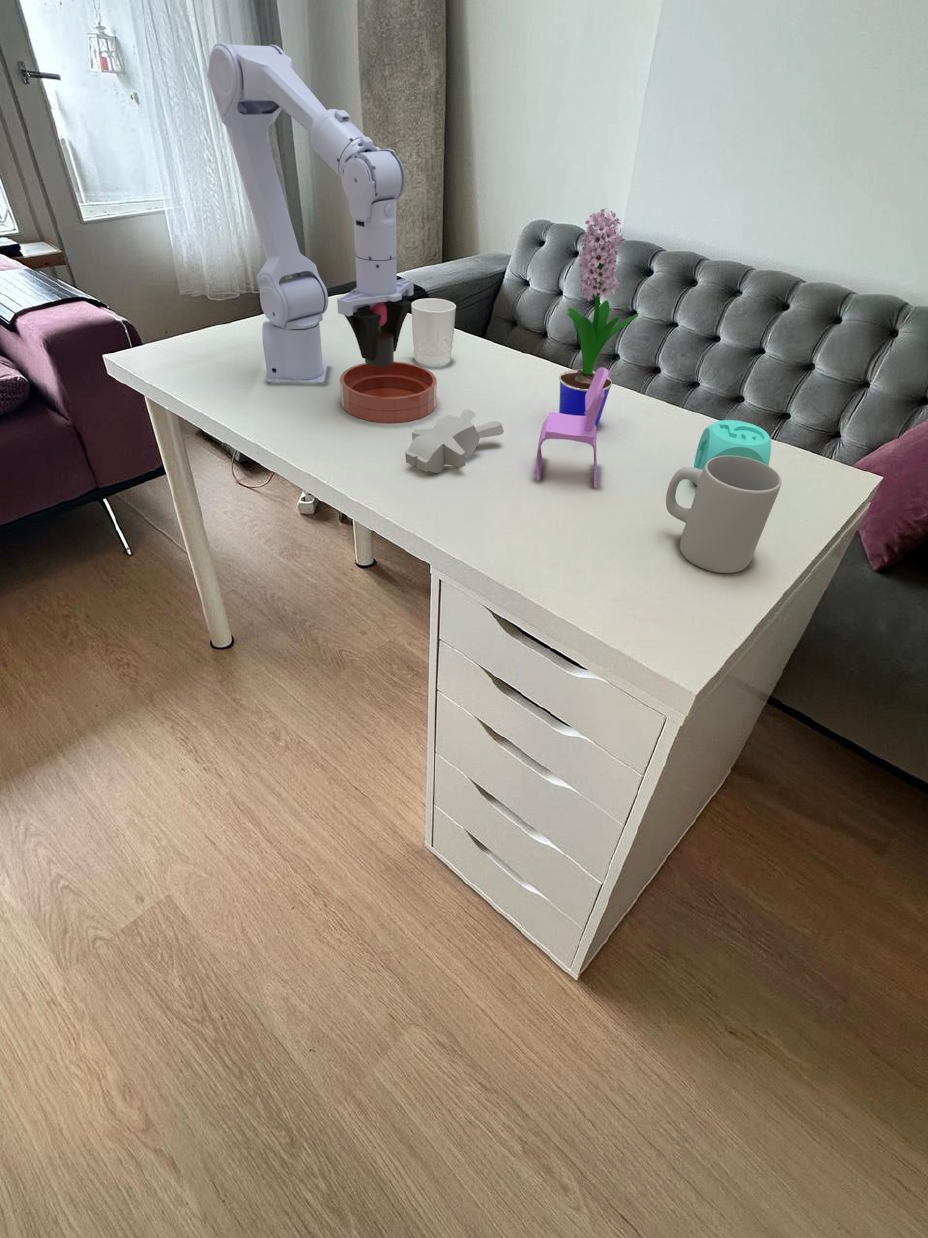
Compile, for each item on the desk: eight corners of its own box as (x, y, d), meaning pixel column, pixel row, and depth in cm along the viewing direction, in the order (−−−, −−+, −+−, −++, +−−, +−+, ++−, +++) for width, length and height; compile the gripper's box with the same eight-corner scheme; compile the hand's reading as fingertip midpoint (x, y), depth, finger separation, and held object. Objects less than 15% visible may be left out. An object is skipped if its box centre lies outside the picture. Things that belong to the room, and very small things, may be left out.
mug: (760, 551, 83) (793, 471, 76) (734, 583, 78) (767, 500, 70) (670, 515, 88) (693, 438, 81) (641, 543, 83) (663, 462, 76)
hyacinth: (613, 440, 104) (661, 219, 84) (548, 431, 105) (579, 211, 86) (615, 417, 111) (659, 207, 91) (553, 409, 112) (584, 199, 92)
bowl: (339, 425, 103) (337, 397, 100) (344, 386, 114) (342, 359, 111) (438, 427, 104) (439, 399, 102) (433, 388, 116) (434, 361, 113)
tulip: (364, 366, 101) (361, 305, 96) (365, 356, 105) (362, 296, 99) (393, 367, 102) (392, 306, 96) (393, 356, 105) (392, 296, 99)
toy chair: (537, 456, 99) (551, 353, 89) (597, 463, 98) (618, 360, 88) (532, 483, 93) (547, 376, 83) (596, 492, 92) (618, 384, 82)
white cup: (452, 370, 122) (455, 313, 116) (409, 368, 122) (409, 310, 116) (454, 355, 128) (456, 299, 122) (413, 352, 128) (413, 296, 122)
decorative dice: (690, 468, 99) (706, 416, 93) (746, 475, 98) (765, 423, 93) (695, 495, 93) (712, 441, 87) (755, 503, 92) (775, 449, 87)
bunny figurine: (389, 435, 93) (461, 393, 100) (393, 467, 96) (462, 424, 104) (440, 459, 88) (510, 413, 96) (442, 491, 92) (510, 445, 99)
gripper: (362, 270, 87) (367, 374, 96) (430, 252, 96) (428, 348, 105) (323, 260, 90) (330, 361, 99) (392, 243, 99) (393, 337, 108)
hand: (378, 354), depth 102 cm, fingers closed on tulip, 4 cm apart
